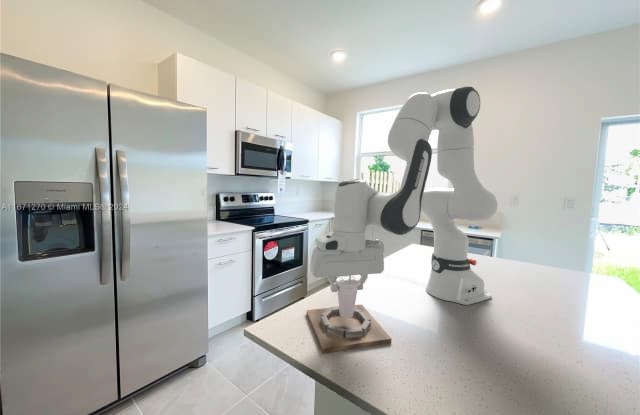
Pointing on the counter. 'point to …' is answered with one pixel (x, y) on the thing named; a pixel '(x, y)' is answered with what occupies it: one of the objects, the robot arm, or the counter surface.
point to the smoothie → (347, 295)
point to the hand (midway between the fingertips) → (346, 290)
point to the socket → (346, 329)
